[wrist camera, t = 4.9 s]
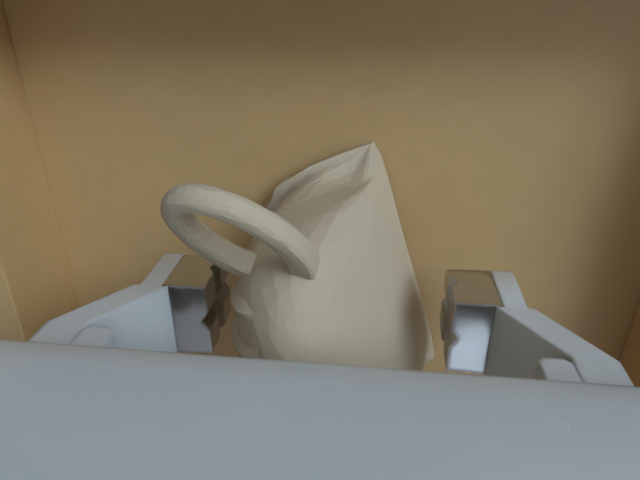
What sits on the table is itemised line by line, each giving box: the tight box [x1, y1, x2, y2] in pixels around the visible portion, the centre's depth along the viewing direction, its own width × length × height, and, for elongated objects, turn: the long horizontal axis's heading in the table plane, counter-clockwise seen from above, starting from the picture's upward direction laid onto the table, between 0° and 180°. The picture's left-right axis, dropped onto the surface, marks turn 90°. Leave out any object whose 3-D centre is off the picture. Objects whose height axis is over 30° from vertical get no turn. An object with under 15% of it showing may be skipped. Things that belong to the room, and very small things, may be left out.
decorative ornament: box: [160, 141, 435, 370], centre depth 12 cm, size 4×8×5 cm, turn 16°
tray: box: [0, 0, 640, 387], centre depth 14 cm, size 18×15×3 cm
